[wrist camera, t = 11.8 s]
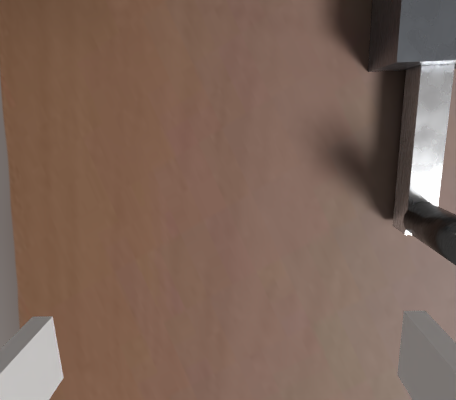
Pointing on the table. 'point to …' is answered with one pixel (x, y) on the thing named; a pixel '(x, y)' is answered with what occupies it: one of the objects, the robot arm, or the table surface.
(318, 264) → the table surface
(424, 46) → the block
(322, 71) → the table surface
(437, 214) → the shaft
